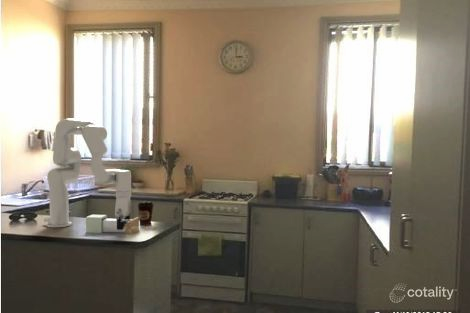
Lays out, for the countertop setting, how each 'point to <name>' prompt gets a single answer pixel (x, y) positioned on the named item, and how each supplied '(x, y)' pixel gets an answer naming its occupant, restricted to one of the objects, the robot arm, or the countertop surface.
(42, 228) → the countertop surface
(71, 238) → the countertop surface
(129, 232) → the beige block
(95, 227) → the pale green cube
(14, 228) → the countertop surface
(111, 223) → the white rectangular block
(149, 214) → the coffee cup
